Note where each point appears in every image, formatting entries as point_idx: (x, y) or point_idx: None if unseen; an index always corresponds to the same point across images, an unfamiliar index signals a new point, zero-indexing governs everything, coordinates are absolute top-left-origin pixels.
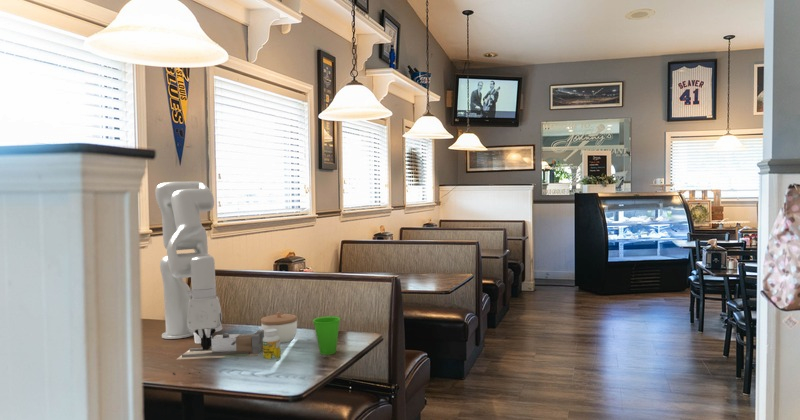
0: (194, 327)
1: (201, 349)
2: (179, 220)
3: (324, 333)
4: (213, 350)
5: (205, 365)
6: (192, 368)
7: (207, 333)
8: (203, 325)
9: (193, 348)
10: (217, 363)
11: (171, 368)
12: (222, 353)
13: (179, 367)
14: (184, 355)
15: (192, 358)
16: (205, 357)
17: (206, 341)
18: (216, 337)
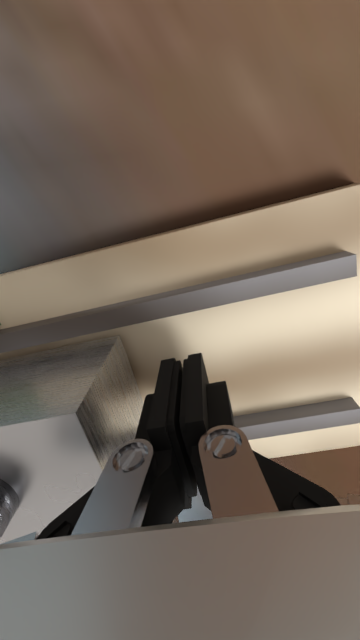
0: (346, 546)
1: (266, 418)
2: None
3: None
4: (99, 348)
5: (60, 151)
6: (113, 40)
7: (130, 484)
8: (93, 626)
9: (334, 422)
10: (6, 216)
11: (322, 4)
12: (21, 330)
13: (257, 53)
14: (326, 259)
15: (224, 225)
16: (127, 263)
17: (156, 401)
18: (55, 459)
